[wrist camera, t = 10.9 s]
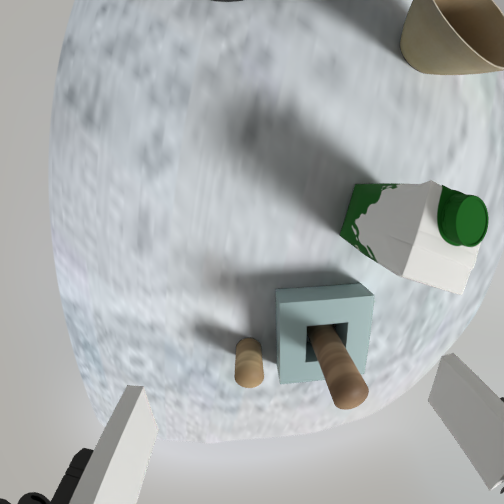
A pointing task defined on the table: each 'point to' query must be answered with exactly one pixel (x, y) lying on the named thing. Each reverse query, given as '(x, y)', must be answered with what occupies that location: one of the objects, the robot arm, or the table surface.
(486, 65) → the plant pot
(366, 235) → the milk carton
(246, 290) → the table surface
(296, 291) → the socket block
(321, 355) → the walnut pin long
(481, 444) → the robot arm
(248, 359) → the oak pin short
